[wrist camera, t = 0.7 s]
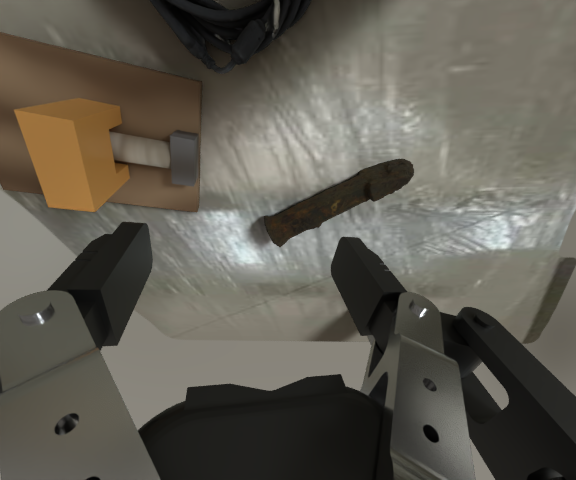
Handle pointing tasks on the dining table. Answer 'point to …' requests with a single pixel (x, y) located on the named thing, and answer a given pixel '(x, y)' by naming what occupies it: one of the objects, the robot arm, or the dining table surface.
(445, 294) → the dining table surface
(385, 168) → the dark brown tapered rod
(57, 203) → the notched block
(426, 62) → the dining table surface
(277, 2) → the cable
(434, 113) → the dining table surface
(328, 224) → the dining table surface
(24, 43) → the wooden base plate
